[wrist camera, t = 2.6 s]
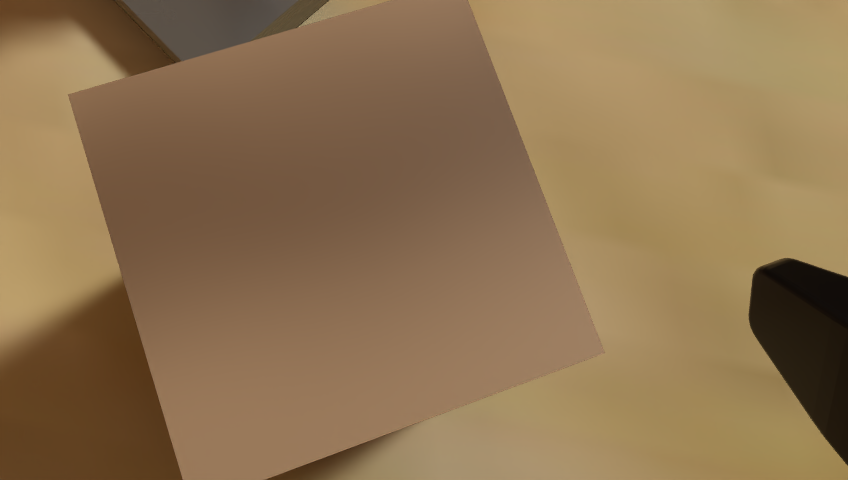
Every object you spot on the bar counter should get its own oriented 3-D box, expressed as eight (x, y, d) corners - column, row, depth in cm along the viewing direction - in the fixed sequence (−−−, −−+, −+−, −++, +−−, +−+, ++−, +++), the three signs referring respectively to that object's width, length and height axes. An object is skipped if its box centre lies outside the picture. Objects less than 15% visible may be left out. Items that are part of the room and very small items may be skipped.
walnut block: (490, 366, 19) (604, 353, 10) (273, 445, 18) (191, 507, 9) (415, 160, 20) (460, -20, 11) (205, 228, 19) (67, 94, 10)
